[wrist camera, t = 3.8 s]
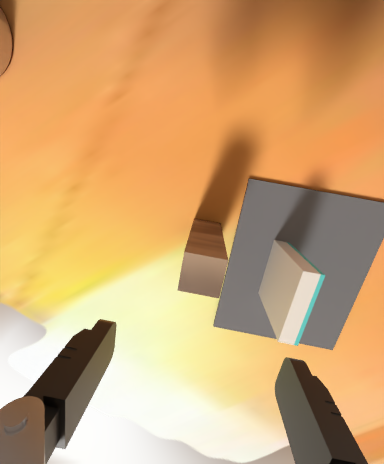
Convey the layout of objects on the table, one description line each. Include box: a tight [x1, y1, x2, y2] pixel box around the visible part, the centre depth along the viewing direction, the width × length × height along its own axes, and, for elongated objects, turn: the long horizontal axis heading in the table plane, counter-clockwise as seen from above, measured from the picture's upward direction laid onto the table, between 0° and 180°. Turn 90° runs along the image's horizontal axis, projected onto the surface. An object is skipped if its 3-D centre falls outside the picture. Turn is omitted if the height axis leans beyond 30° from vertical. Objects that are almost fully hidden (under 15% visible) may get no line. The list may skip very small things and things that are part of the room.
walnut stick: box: [178, 219, 228, 298], centre depth 23 cm, size 4×4×12 cm
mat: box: [214, 179, 384, 350], centre depth 29 cm, size 22×18×1 cm
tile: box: [258, 240, 325, 346], centre depth 25 cm, size 8×2×9 cm, turn 170°
